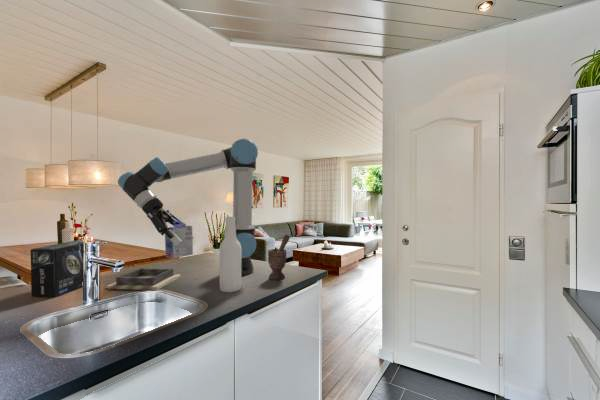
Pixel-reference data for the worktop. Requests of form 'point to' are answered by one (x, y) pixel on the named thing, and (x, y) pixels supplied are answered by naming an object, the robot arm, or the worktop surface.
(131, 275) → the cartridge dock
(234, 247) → the alcohol
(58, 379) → the worktop surface
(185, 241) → the ink cartridge box
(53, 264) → the box
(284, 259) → the mortar and pestle
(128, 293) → the worktop surface
